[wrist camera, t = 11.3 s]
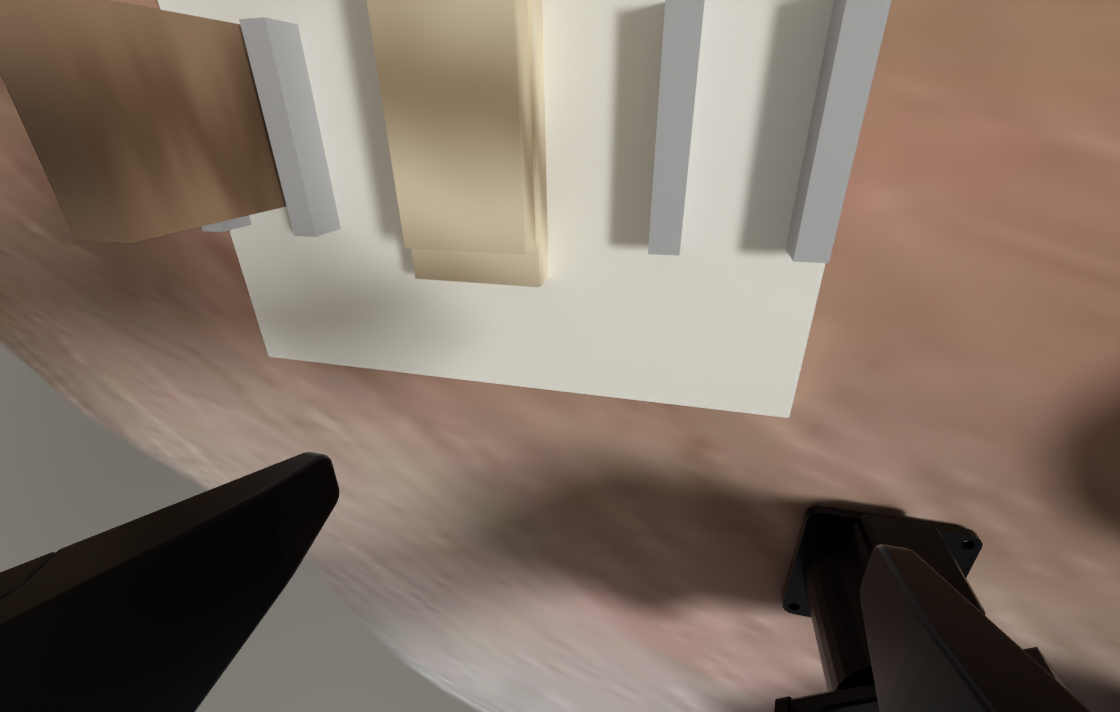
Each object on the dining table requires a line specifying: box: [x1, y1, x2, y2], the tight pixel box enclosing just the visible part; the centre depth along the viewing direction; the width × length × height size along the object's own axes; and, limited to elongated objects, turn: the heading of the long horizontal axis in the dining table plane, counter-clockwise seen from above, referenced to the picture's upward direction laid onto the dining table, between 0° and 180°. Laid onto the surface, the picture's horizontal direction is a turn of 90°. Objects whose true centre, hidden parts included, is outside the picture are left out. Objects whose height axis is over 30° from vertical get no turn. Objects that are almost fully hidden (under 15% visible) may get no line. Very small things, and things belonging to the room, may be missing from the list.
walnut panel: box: [0, 0, 286, 244], centre depth 16 cm, size 6×2×7 cm, turn 1°
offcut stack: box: [366, 0, 549, 287], centre depth 16 cm, size 10×5×2 cm, turn 1°
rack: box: [158, 0, 891, 418], centre depth 17 cm, size 20×24×2 cm
